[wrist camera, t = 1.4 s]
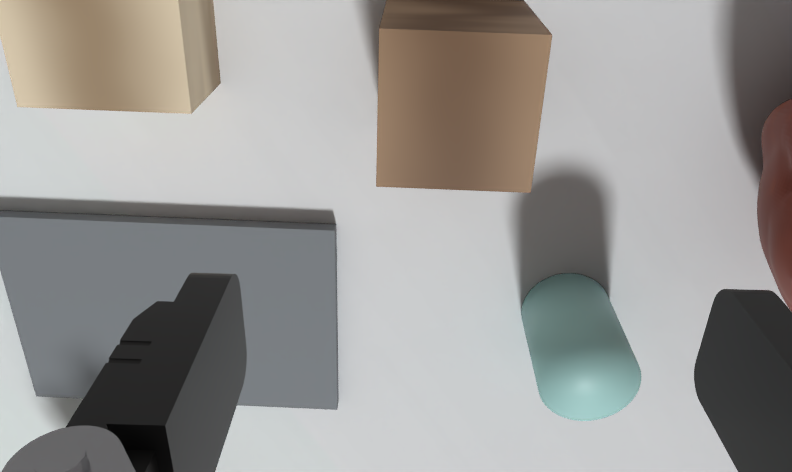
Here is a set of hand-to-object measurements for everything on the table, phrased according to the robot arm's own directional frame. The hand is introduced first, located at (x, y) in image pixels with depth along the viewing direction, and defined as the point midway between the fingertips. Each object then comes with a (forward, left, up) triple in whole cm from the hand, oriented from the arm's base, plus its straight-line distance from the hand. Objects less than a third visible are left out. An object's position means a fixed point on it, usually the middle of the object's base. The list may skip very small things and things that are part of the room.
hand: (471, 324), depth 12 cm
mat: (+12, +12, -17) cm, 23 cm away
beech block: (+12, -1, -17) cm, 20 cm away
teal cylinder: (-6, +11, -17) cm, 21 cm away
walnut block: (0, 0, -17) cm, 17 cm away
